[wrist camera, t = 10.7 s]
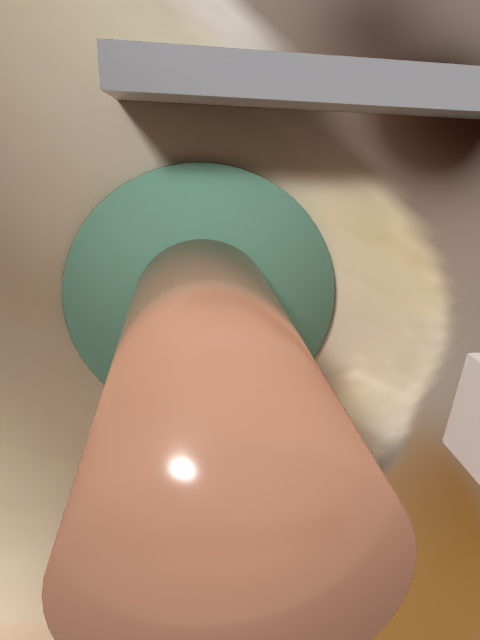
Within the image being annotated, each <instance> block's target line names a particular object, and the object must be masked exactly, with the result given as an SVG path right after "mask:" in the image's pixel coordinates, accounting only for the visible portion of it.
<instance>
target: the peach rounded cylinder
mask: <svg viewBox="0 0 480 640" xmlns="http://www.w3.org/2000/svg"><path fill="white" fill-rule="evenodd" d="M415 564H416V541H415V535H414V529H413V526H412V524H411V521H410V518H409V516H408V513H407V512H406V510H405V508H404V507H403V505H402V503H401V502H400V500H399V498H398V497H397V495H396V494H395V492H394V490H393V489H392V487H391V485H390V484H389V482H388V480H387V479H386V477H385V475H384V474H383V472H382V470H381V469H380V467H379V465H378V464H377V462H376V460H375V459H374V457H373V455H372V454H371V452H370V451H369V449H368V447H367V446H366V444H365V442H364V441H363V439H362V437H361V436H360V434H359V432H358V431H357V429H356V427H355V426H354V424H353V422H352V421H351V419H350V418H349V416H348V414H347V413H346V411H345V409H344V408H343V406H342V404H341V403H340V401H339V399H338V398H337V396H336V394H335V393H334V391H333V389H332V388H331V386H330V385H329V383H328V381H327V380H326V378H325V376H324V375H323V373H322V371H321V370H320V368H319V366H318V365H317V363H316V361H315V360H314V358H313V356H312V355H311V353H310V352H309V350H308V348H307V347H306V345H305V343H304V342H303V340H302V338H301V337H300V335H299V333H298V332H297V330H296V328H295V327H294V325H293V323H292V322H291V320H290V318H289V317H288V315H287V314H286V312H285V310H284V309H283V307H282V305H281V304H280V302H279V300H278V299H277V297H276V295H275V294H274V292H273V290H272V289H271V287H270V285H269V284H268V282H267V281H266V279H265V277H264V276H263V274H262V272H261V271H260V269H259V267H258V266H257V265H256V264H255V262H254V261H253V260H252V259H251V258H250V257H249V256H248V255H246V254H245V253H244V252H242V251H241V250H239V249H238V248H236V247H234V246H232V245H230V244H227V243H224V242H221V241H216V240H209V239H195V240H189V241H184V242H181V243H178V244H175V245H173V246H171V247H169V248H167V249H165V250H164V251H162V252H161V253H159V254H158V255H157V256H156V257H154V258H153V259H152V260H151V261H150V263H149V264H148V265H147V266H146V268H145V269H144V271H143V272H142V274H141V276H140V278H139V280H138V282H137V286H136V289H135V292H134V295H133V298H132V301H131V304H130V308H129V311H128V314H127V317H126V320H125V323H124V326H123V329H122V333H121V336H120V339H119V342H118V345H117V348H116V351H115V355H114V358H113V361H112V364H111V367H110V370H109V373H108V376H107V380H106V383H105V386H104V389H103V392H102V395H101V398H100V402H99V405H98V408H97V411H96V414H95V417H94V420H93V423H92V427H91V430H90V433H89V436H88V439H87V442H86V445H85V448H84V452H83V455H82V458H81V461H80V464H79V467H78V470H77V474H76V477H75V480H74V483H73V486H72V489H71V492H70V495H69V499H68V502H67V505H66V508H65V511H64V514H63V517H62V521H61V524H60V527H59V530H58V533H57V536H56V539H55V542H54V546H53V549H52V552H51V555H50V558H49V561H48V565H47V568H46V571H45V575H44V579H43V589H42V601H43V611H44V615H45V618H46V622H47V625H48V628H49V630H50V632H51V634H52V636H53V638H54V639H55V640H372V639H373V638H374V637H375V636H376V635H377V634H378V633H379V632H380V631H381V630H382V629H383V628H384V627H385V625H386V624H387V623H388V622H389V621H390V619H391V618H392V616H393V615H394V614H395V612H396V611H397V610H398V608H399V607H400V605H401V603H402V601H403V599H404V597H405V596H406V594H407V592H408V589H409V586H410V584H411V581H412V578H413V574H414V569H415Z"/></svg>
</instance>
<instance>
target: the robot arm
mask: <svg viewBox="0 0 480 640" xmlns="http://www.w3.org/2000/svg"><path fill="white" fill-rule="evenodd" d="M442 442H443V443H444V444H445V445H446V447H447V448H448V449H449V450H450V451H451V452H452V454H454V456H455V457H456V458H457V459H458V460H459V462H460V463H461V464H462V465H463V466H464V467H465V468H466V470H467V471H468V472H469V473H470V474H471V476H472V477H473V478H474V479H475V480H476V481H477V483H478V484H479V485H480V353H468V354H467V357H466V361H465V364H464V368H463V371H462V375H461V378H460V382H459V385H458V389H457V392H456V395H455V399H454V403H453V406H452V410H451V413H450V416H449V420H448V423H447V427H446V430H445V434H444V437H443V440H442Z"/></svg>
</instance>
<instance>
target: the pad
mask: <svg viewBox="0 0 480 640" xmlns="http://www.w3.org/2000/svg"><path fill="white" fill-rule="evenodd" d="M195 239H209V240H216V241H221V242H224V243H227V244H230V245H232V246H234V247H236V248H238V249H239V250H241V251H242V252H244V253H245V254H246V255H248V256H249V257H250V258H251V259H252V260H253V261H254V262H255V264H256V265H257V266H258V267H259V269H260V271H261V272H262V274H263V276H264V277H265V279H266V281H267V282H268V284H269V285H270V287H271V289H272V290H273V292H274V294H275V295H276V297H277V299H278V300H279V302H280V304H281V305H282V307H283V309H284V310H285V312H286V314H287V315H288V317H289V318H290V320H291V322H292V323H293V325H294V327H295V328H296V330H297V332H298V333H299V335H300V337H301V338H302V340H303V342H304V343H305V345H306V347H307V348H308V350H309V352H310V353H311V355H312V356H313V358H314V357H315V355H316V354H317V352H318V350H319V349H320V346H321V344H322V342H323V340H324V338H325V336H326V333H327V330H328V327H329V325H330V322H331V317H332V312H333V307H334V295H335V285H334V272H333V267H332V263H331V258H330V255H329V252H328V249H327V246H326V244H325V241H324V239H323V237H322V235H321V233H320V231H319V229H318V228H317V226H316V224H315V223H314V221H313V220H312V219H311V217H310V216H309V215H308V213H307V212H306V211H305V210H304V209H303V207H302V206H301V205H300V204H299V203H298V202H297V201H296V200H295V199H294V198H293V197H291V196H290V195H289V194H288V193H286V192H285V191H284V190H282V189H281V188H280V187H279V186H277V185H275V184H273V183H272V182H270V181H268V180H266V179H265V178H263V177H261V176H259V175H256V174H254V173H251V172H249V171H246V170H244V169H240V168H236V167H232V166H228V165H224V164H216V163H206V162H198V163H181V164H176V165H170V166H165V167H162V168H158V169H155V170H152V171H149V172H146V173H144V174H142V175H140V176H138V177H136V178H134V179H132V180H130V181H128V182H127V183H125V184H124V185H122V186H121V187H119V188H118V189H116V190H115V191H113V192H112V193H111V194H110V195H108V196H107V197H106V198H105V199H104V200H103V201H102V202H101V203H100V204H99V205H98V206H96V208H95V209H94V210H93V211H92V213H91V214H90V215H89V216H88V218H87V219H86V220H85V221H84V223H83V225H82V226H81V228H80V230H79V231H78V233H77V235H76V236H75V238H74V241H73V243H72V246H71V248H70V251H69V253H68V256H67V260H66V264H65V268H64V273H63V284H62V300H63V310H64V315H65V320H66V325H67V327H68V330H69V333H70V336H71V339H72V341H73V343H74V345H75V347H76V349H77V351H78V353H79V355H80V356H81V358H82V359H83V360H84V362H85V363H86V365H87V366H88V367H89V369H90V370H91V371H92V372H93V373H94V374H95V375H96V376H97V378H98V379H99V380H100V381H101V382H103V383H104V384H105V383H106V380H107V376H108V373H109V370H110V367H111V364H112V361H113V358H114V355H115V351H116V348H117V345H118V342H119V339H120V336H121V333H122V329H123V326H124V323H125V320H126V317H127V314H128V311H129V308H130V304H131V301H132V298H133V295H134V292H135V289H136V286H137V282H138V280H139V278H140V276H141V274H142V272H143V271H144V269H145V268H146V266H147V265H148V264H149V263H150V261H151V260H152V259H153V258H154V257H156V256H157V255H158V254H159V253H161V252H162V251H164V250H165V249H167V248H169V247H171V246H173V245H175V244H178V243H181V242H184V241H189V240H195Z"/></svg>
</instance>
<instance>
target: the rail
mask: <svg viewBox="0 0 480 640" xmlns="http://www.w3.org/2000/svg"><path fill="white" fill-rule="evenodd" d="M97 48H98V61H99V74H100V87H101V90H102V91H104V92H105V93H107V94H108V95H110V96H112V97H113V98H115V99H116V100H135V101H153V102H171V103H190V104H208V105H226V106H245V107H263V108H281V109H300V110H318V111H336V112H355V113H373V114H391V115H410V116H428V117H447V118H466V119H480V66H472V65H458V64H446V63H445V64H444V63H432V62H417V61H404V60H390V59H376V58H362V57H348V56H335V55H320V54H307V53H293V52H279V51H265V50H251V49H238V48H224V47H210V46H196V45H182V44H168V43H154V42H140V41H127V40H113V39H99V38H97Z"/></svg>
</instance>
